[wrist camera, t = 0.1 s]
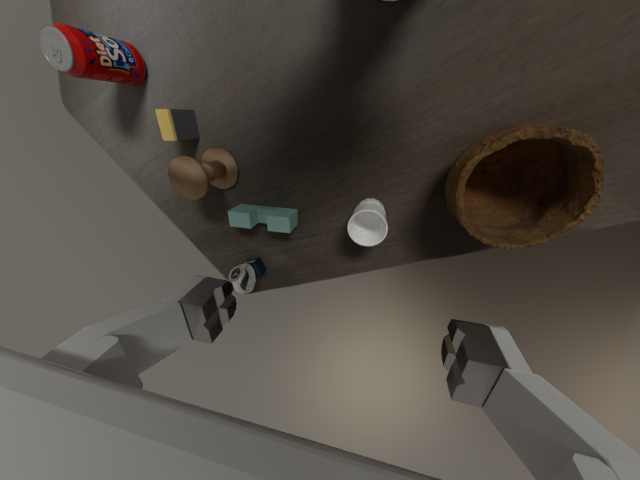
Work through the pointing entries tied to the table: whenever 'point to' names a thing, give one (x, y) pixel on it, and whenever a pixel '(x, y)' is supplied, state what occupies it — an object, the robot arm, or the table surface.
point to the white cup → (368, 223)
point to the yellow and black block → (177, 124)
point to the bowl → (525, 184)
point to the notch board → (264, 217)
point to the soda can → (91, 55)
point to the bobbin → (203, 173)
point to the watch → (246, 274)
